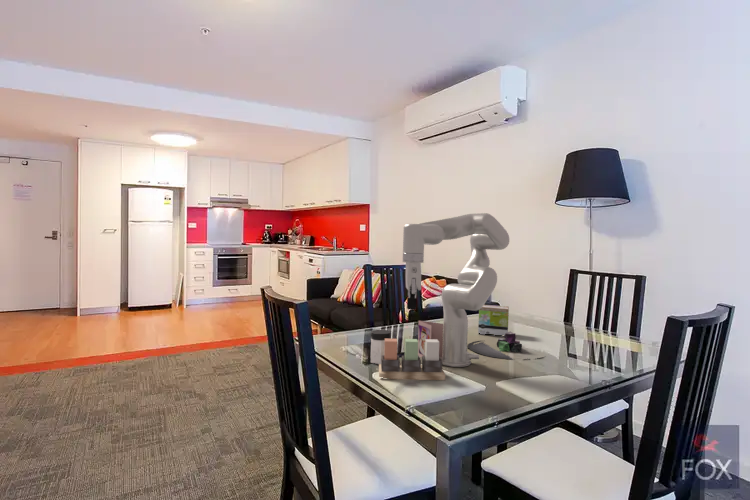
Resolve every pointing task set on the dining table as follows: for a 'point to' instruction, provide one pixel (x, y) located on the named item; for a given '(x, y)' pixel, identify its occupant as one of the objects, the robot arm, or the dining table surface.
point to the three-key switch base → (411, 369)
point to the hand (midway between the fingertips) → (411, 309)
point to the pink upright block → (390, 349)
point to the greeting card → (429, 336)
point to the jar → (378, 344)
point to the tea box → (493, 320)
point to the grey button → (431, 350)
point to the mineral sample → (503, 344)
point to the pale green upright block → (411, 349)
